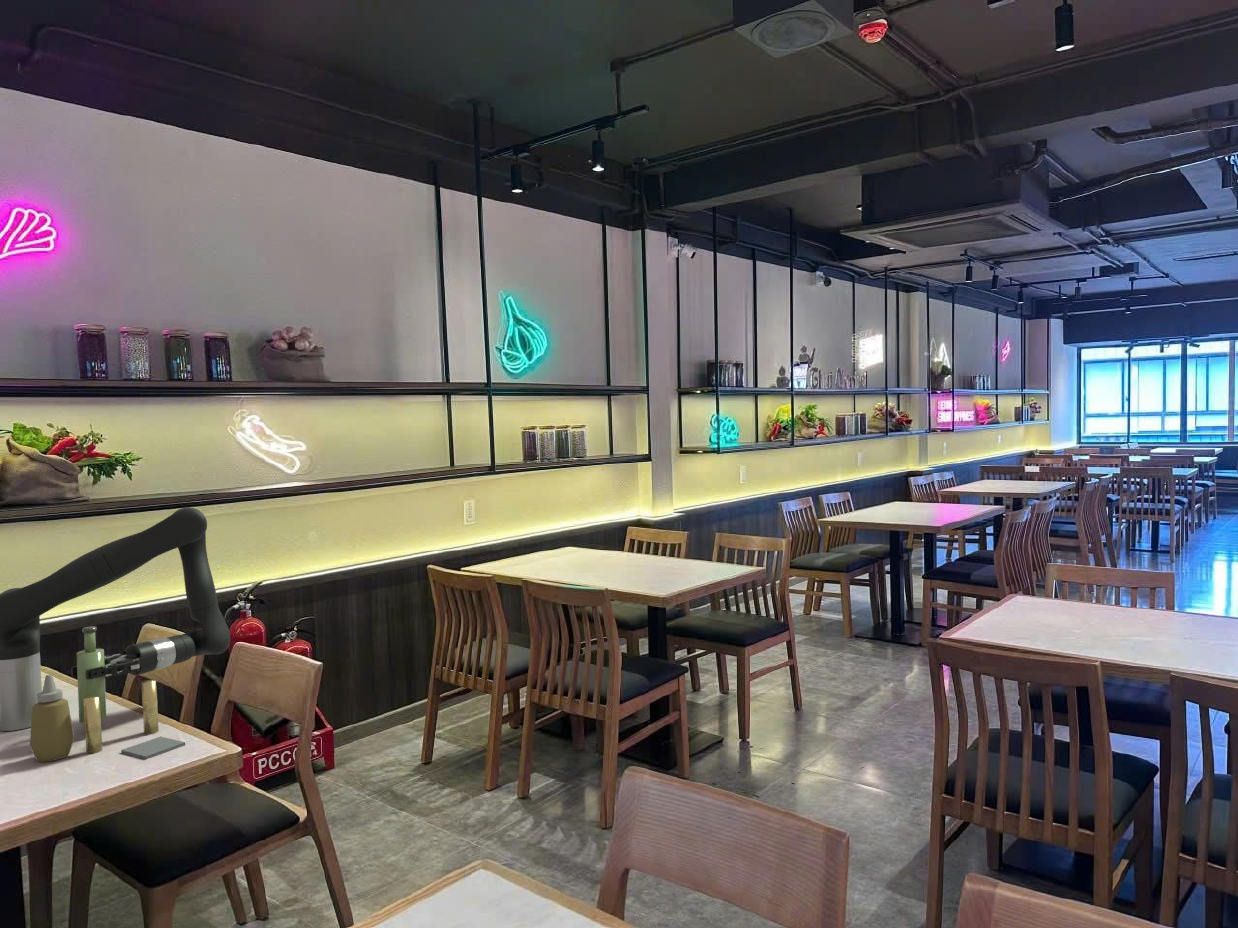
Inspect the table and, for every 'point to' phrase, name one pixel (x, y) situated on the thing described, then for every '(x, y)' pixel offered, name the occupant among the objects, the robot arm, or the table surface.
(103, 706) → the olive bottle
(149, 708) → the brass rod
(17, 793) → the table surface
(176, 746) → the grey coaster
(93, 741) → the brass rod
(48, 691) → the squeeze bottle
